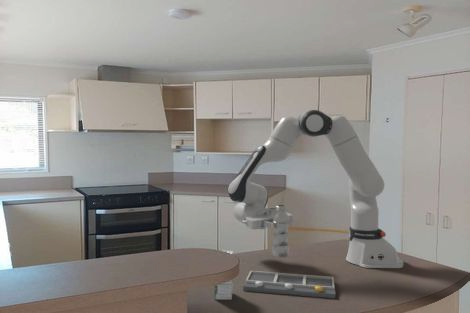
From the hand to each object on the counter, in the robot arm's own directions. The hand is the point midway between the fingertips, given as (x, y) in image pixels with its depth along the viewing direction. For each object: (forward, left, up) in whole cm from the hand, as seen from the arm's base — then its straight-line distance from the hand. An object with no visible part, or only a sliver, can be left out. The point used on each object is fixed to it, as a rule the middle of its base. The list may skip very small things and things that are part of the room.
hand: (282, 224), depth 150 cm
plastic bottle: (+1, -1, -13) cm, 13 cm away
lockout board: (-4, +14, -19) cm, 24 cm away
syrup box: (+16, +27, -19) cm, 37 cm away
